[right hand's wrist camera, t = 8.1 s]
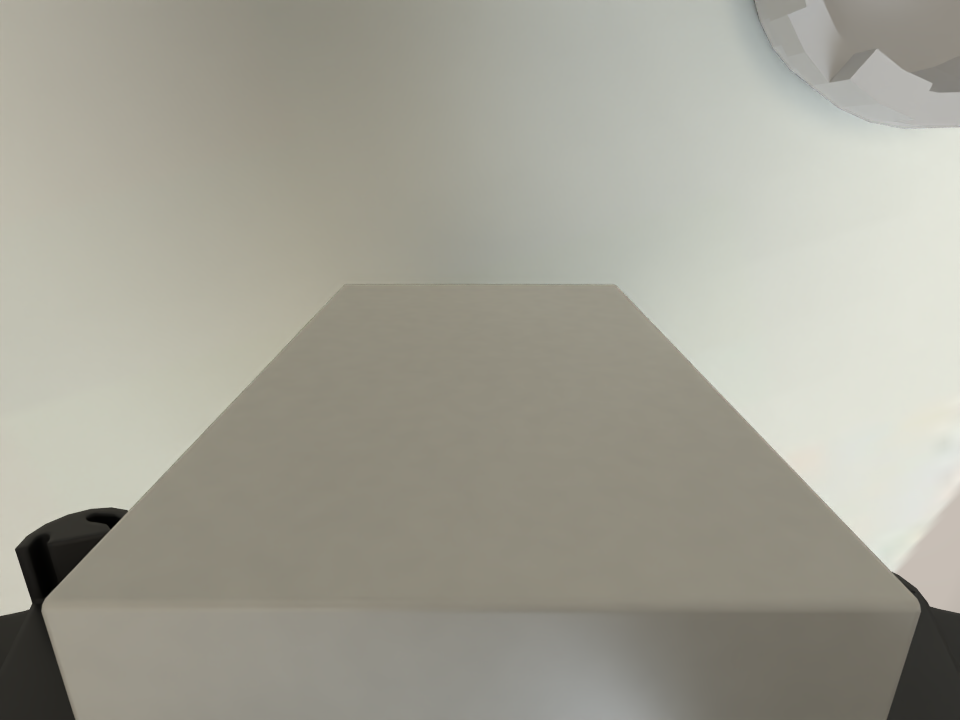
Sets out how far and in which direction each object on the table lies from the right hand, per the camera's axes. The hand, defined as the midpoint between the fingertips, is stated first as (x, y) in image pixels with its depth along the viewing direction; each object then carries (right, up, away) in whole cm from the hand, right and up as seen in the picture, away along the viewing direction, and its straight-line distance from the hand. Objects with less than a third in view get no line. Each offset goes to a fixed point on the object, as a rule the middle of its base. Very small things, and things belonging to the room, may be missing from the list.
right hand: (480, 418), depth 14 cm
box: (0, -9, +5) cm, 11 cm away
